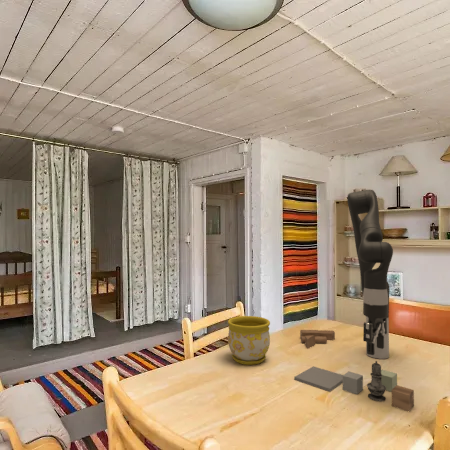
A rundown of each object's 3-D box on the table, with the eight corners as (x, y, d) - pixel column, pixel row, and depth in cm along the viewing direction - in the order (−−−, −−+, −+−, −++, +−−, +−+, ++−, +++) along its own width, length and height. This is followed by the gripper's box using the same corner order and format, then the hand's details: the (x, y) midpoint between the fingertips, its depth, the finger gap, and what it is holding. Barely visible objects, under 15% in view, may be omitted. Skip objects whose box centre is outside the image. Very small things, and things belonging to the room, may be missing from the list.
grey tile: (313, 368, 137) (313, 366, 137) (347, 379, 128) (347, 376, 128) (294, 379, 127) (294, 376, 127) (329, 391, 118) (329, 388, 118)
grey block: (348, 385, 123) (348, 371, 123) (362, 389, 119) (362, 375, 119) (342, 390, 119) (342, 375, 119) (356, 394, 116) (356, 379, 116)
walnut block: (396, 400, 112) (396, 385, 112) (413, 406, 108) (413, 389, 108) (391, 406, 108) (391, 390, 108) (409, 412, 105) (408, 395, 105)
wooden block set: (298, 327, 178) (333, 327, 178) (298, 338, 178) (333, 339, 177) (305, 337, 161) (344, 337, 161) (305, 349, 161) (344, 350, 160)
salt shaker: (388, 402, 110) (388, 364, 110) (368, 400, 111) (368, 363, 112) (383, 394, 116) (383, 358, 116) (365, 392, 117) (365, 356, 117)
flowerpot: (221, 363, 142) (221, 323, 143) (236, 350, 159) (236, 314, 159) (263, 370, 136) (263, 328, 136) (274, 355, 152) (274, 318, 153)
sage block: (382, 383, 124) (382, 369, 125) (397, 387, 121) (396, 373, 121) (377, 387, 121) (377, 373, 121) (392, 392, 117) (392, 377, 117)
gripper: (372, 297, 122) (372, 343, 122) (355, 303, 112) (355, 353, 111) (394, 300, 117) (394, 348, 116) (379, 306, 107) (379, 359, 106)
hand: (375, 351), depth 114 cm, fingers open, 8 cm apart
